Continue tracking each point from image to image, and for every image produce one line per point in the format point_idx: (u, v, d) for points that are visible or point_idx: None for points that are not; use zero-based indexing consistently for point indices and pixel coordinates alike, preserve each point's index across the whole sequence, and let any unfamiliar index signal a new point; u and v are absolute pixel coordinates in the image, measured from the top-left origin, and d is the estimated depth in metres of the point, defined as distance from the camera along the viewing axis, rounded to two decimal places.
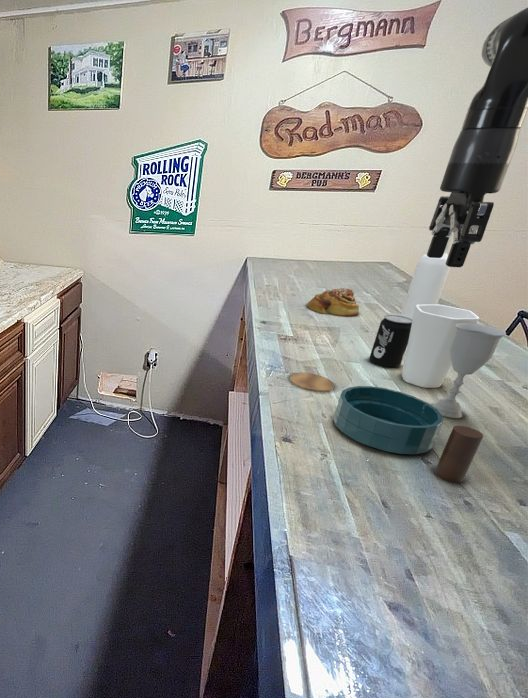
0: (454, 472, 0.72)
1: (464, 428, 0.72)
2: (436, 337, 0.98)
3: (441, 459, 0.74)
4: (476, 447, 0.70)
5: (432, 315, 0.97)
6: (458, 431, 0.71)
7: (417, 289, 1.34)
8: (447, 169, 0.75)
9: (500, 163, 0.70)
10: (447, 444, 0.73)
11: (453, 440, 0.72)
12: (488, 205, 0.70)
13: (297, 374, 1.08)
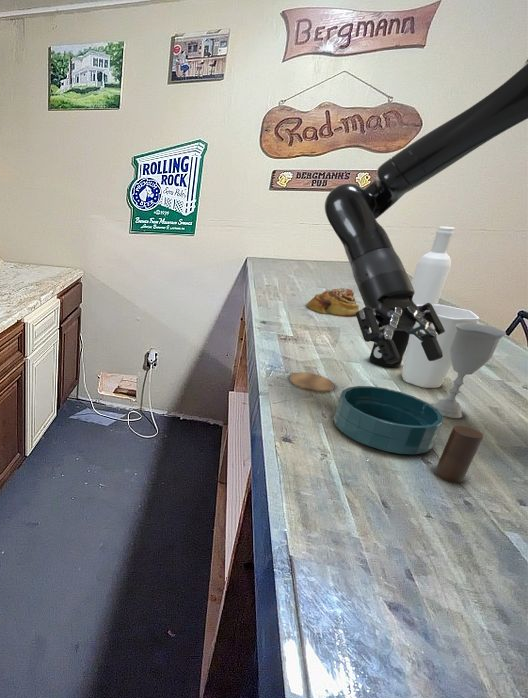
0: (454, 472, 0.72)
1: (464, 428, 0.72)
2: None
3: (441, 459, 0.74)
4: (476, 447, 0.70)
5: None
6: (458, 431, 0.71)
7: (417, 289, 1.34)
8: None
9: (372, 277, 0.82)
10: (447, 444, 0.73)
11: (453, 440, 0.72)
12: (363, 309, 0.81)
13: (297, 374, 1.08)
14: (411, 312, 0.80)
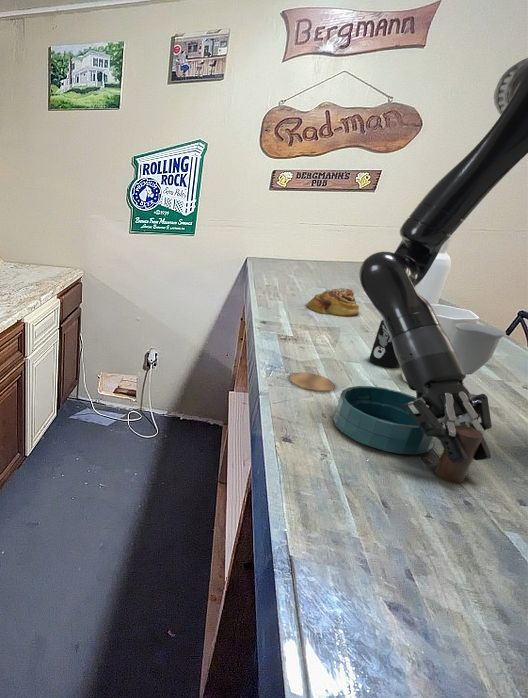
0: (454, 472, 0.72)
1: (464, 428, 0.72)
2: None
3: (441, 459, 0.74)
4: (476, 447, 0.70)
5: None
6: (458, 431, 0.71)
7: (417, 289, 1.34)
8: None
9: (417, 358, 0.75)
10: None
11: None
12: (414, 404, 0.73)
13: (297, 374, 1.08)
14: (463, 399, 0.73)
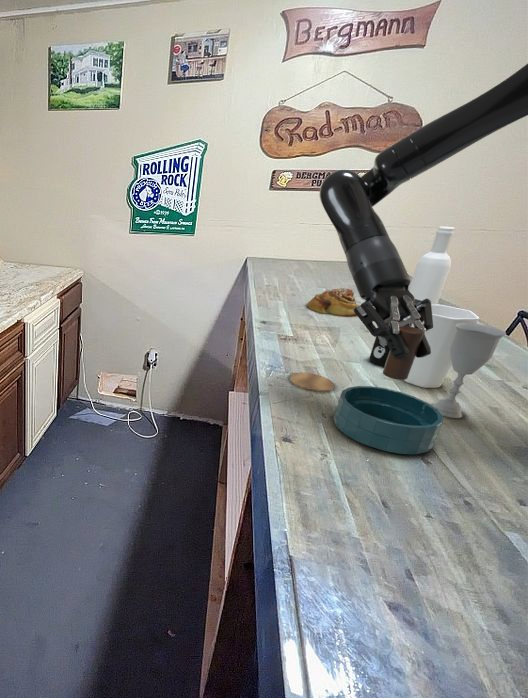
0: (398, 369, 0.78)
1: (408, 328, 0.77)
2: (436, 337, 0.98)
3: (387, 359, 0.79)
4: (417, 343, 0.75)
5: (432, 315, 0.97)
6: (401, 329, 0.76)
7: (417, 289, 1.34)
8: None
9: (366, 265, 0.80)
10: None
11: None
12: (361, 306, 0.78)
13: (297, 374, 1.08)
14: (407, 301, 0.78)
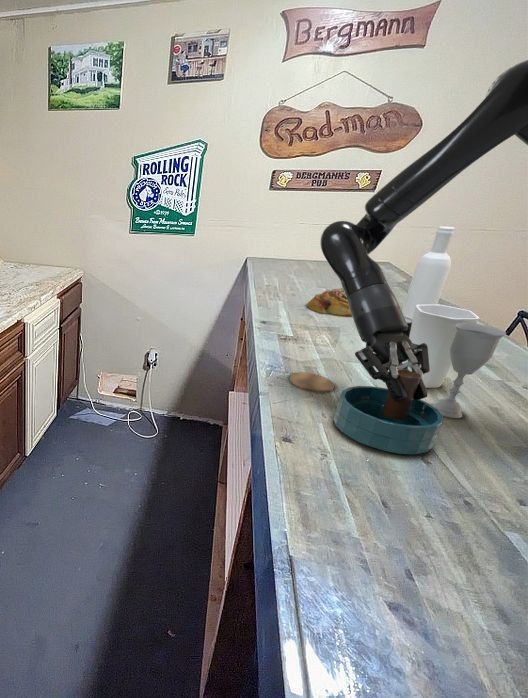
0: (397, 410, 0.83)
1: (405, 372, 0.82)
2: (436, 337, 0.98)
3: (387, 400, 0.85)
4: (415, 387, 0.81)
5: (432, 315, 0.97)
6: (400, 374, 0.82)
7: (417, 289, 1.34)
8: None
9: (367, 312, 0.85)
10: None
11: None
12: (362, 351, 0.83)
13: (297, 374, 1.08)
14: (405, 347, 0.83)
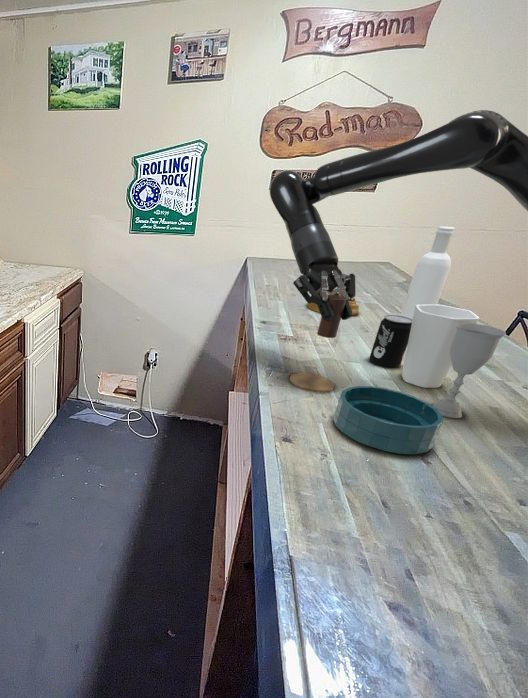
0: (328, 329, 0.97)
1: (335, 296, 0.97)
2: (436, 337, 0.98)
3: (320, 322, 0.99)
4: (341, 307, 0.95)
5: (432, 315, 0.97)
6: (329, 297, 0.96)
7: (417, 289, 1.34)
8: None
9: (304, 247, 1.00)
10: None
11: None
12: (298, 279, 0.98)
13: (297, 374, 1.08)
14: (335, 275, 0.98)
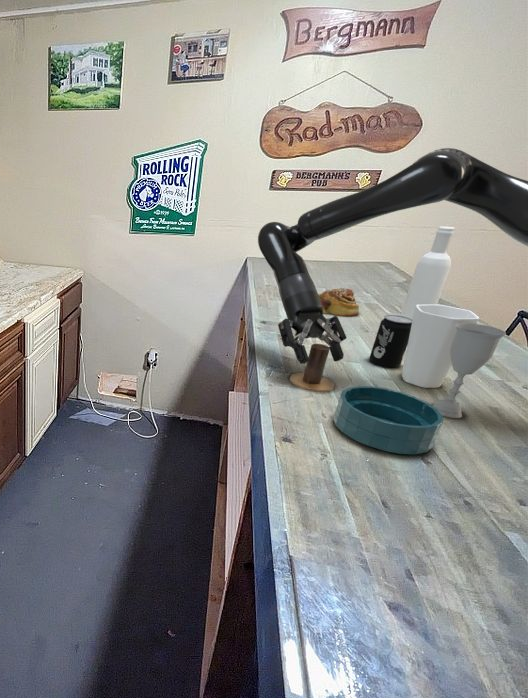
0: (312, 376, 1.03)
1: (319, 345, 1.02)
2: (436, 337, 0.98)
3: (305, 368, 1.05)
4: (325, 357, 1.01)
5: (432, 315, 0.97)
6: (313, 346, 1.02)
7: (417, 289, 1.34)
8: None
9: (290, 296, 1.05)
10: (308, 357, 1.03)
11: (311, 353, 1.02)
12: (282, 321, 1.03)
13: (297, 374, 1.08)
14: (319, 323, 1.03)
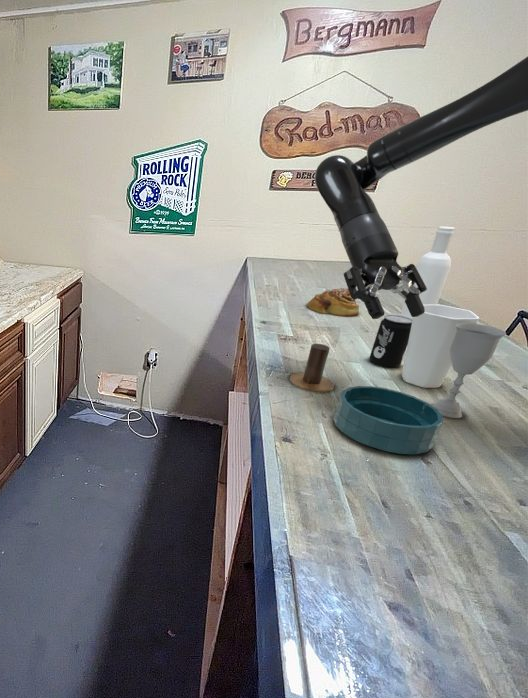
0: (312, 376, 1.03)
1: (319, 345, 1.02)
2: (436, 337, 0.98)
3: (305, 368, 1.05)
4: (325, 357, 1.01)
5: (432, 315, 0.97)
6: (313, 346, 1.02)
7: None
8: None
9: (358, 240, 0.88)
10: (308, 357, 1.03)
11: (311, 353, 1.02)
12: (350, 269, 0.86)
13: (297, 374, 1.08)
14: (395, 271, 0.86)
